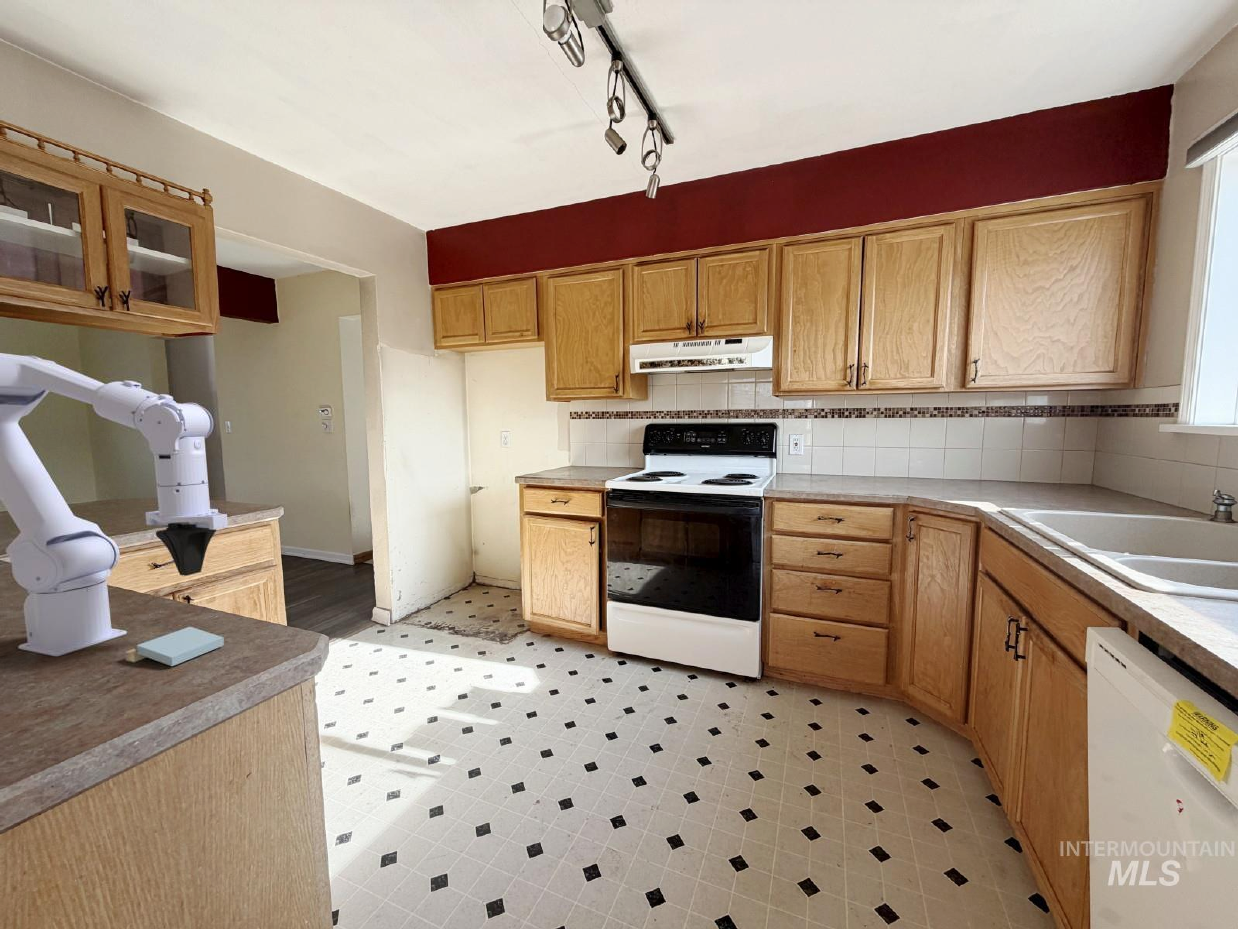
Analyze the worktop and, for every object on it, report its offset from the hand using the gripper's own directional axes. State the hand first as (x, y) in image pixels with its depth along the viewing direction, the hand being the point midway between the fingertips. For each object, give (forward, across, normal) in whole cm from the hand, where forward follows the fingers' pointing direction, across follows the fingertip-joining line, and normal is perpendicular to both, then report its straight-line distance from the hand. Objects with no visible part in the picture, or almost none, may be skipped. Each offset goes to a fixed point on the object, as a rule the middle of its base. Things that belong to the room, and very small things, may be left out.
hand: (190, 573), depth 74 cm
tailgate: (+8, -1, +4) cm, 9 cm away
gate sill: (+10, 0, +4) cm, 11 cm away
